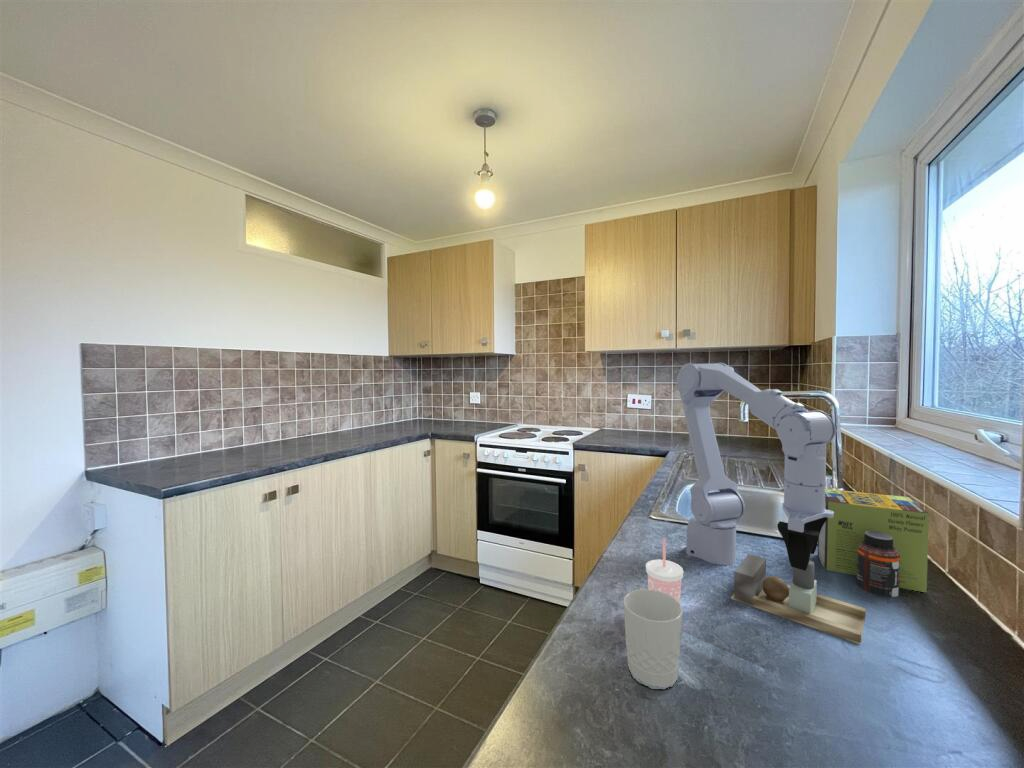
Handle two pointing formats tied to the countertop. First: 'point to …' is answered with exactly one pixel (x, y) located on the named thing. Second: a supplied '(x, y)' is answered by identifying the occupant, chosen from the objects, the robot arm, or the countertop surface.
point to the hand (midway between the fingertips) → (802, 559)
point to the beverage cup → (665, 576)
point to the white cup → (653, 636)
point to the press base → (825, 615)
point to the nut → (775, 589)
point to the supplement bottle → (878, 565)
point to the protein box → (876, 515)
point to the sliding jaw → (803, 589)
